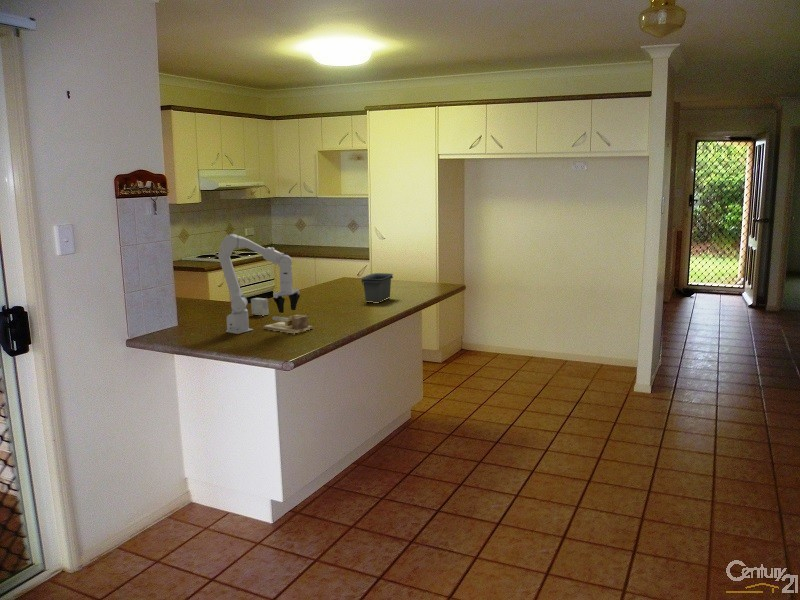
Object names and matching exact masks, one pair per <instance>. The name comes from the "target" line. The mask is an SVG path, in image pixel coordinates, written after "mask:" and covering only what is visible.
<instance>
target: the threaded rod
mask: <svg viewBox="0 0 800 600" xmlns="http://www.w3.org/2000/svg"><path fill="white" fill-rule="evenodd" d="M271 319H272V321H275V322H285V321H287V320H289V317H282V316H277V315H273V316H272V317H271Z"/></svg>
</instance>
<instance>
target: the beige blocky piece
mask: <svg viewBox="0 0 800 600" xmlns="http://www.w3.org/2000/svg"><path fill="white" fill-rule="evenodd" d="M264 329H267V330H266V331H270V330H273V331H272V332H276V331H280V332H279V333H282V332H287V333H286V334H288V333H294V334H293V335H296V334H295V333H298V332H302V331H306V330H309V331H311V330H310V329H313V330H314V326H313V325H309V316H308V315H301V316H298V317H294V318H292V328H290V327H289V326H285V322H281V321H277V322H274V323H270V324H266V325H263V326H262V330H264ZM306 332H307V331H306ZM302 333H303V332H302ZM298 334H299V333H298Z"/></svg>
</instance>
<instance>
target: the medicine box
mask: <svg viewBox="0 0 800 600" xmlns="http://www.w3.org/2000/svg"><path fill="white" fill-rule="evenodd" d="M250 307H251V315H252V314H255V315H262V316H264V315H268V314H269V315H270V311H269V298H262V297H255V298H250ZM269 315H268V316H269ZM262 316H261V317H262ZM264 317H265V316H264Z"/></svg>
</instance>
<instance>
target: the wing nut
mask: <svg viewBox="0 0 800 600" xmlns="http://www.w3.org/2000/svg"><path fill="white" fill-rule="evenodd" d="M298 316H302V315H301V314H294V315H289V316H288V318H289V320H287V321H285V326H289V327H290V328H292V318H294V317H298Z"/></svg>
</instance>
